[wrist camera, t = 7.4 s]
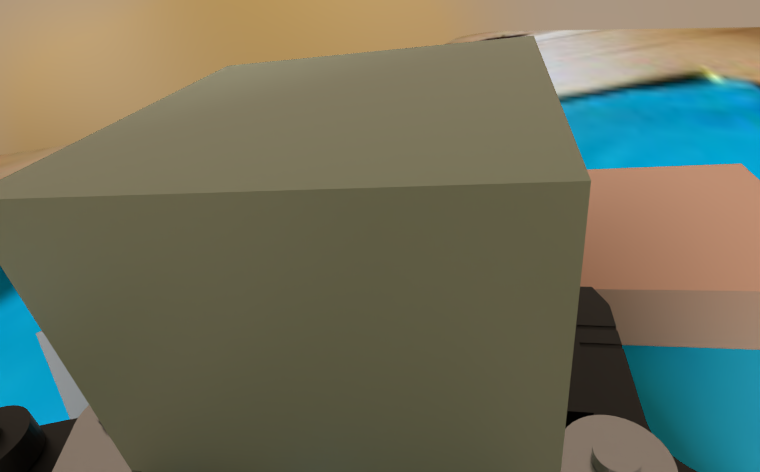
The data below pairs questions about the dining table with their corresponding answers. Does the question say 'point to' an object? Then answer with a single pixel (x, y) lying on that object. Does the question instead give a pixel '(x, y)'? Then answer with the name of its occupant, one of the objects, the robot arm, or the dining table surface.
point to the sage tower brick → (319, 265)
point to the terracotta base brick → (677, 254)
